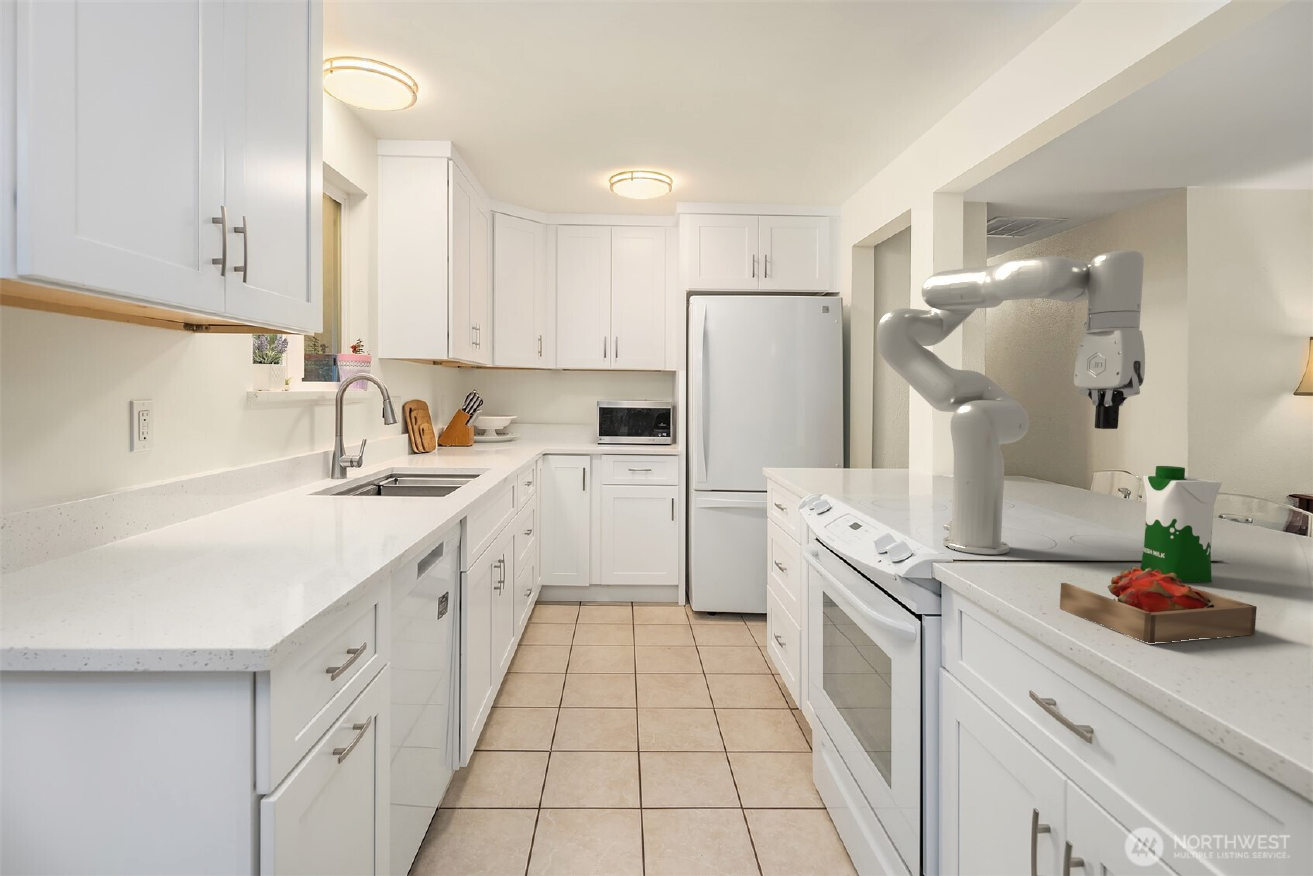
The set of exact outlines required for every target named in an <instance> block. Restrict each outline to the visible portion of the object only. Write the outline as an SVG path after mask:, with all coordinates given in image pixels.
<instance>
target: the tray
mask: <svg viewBox="0 0 1313 876" xmlns="http://www.w3.org/2000/svg"><path fill="white" fill-rule="evenodd" d="M1191 589H1192V590H1196V591H1199V592H1201V593H1203V594H1205V595H1206V596H1207V597H1208V598H1209V600H1211V602H1210V603H1208V604H1209V605H1208V606H1210V605H1212V604H1213V605H1214V608H1206V607H1205V608H1201V609H1189V610H1177V611H1165V612H1152V613H1149V612H1147V611H1144V610H1141V609H1138V608H1135V607H1132V606H1130V605H1127V604H1124V603H1121V602H1118V600H1117V599H1116V600H1113V599H1114V598H1113V599H1112V598H1109V597H1108V596H1104V595H1101V594H1099V593H1095V592H1093V591H1090V590H1087V589H1085V588H1081V587H1079V586H1076V585H1073V584H1070V583H1067V582H1061V583H1060V598H1059V610H1062V611H1065V612H1067V613H1070V614H1072V615H1074V614H1075V616H1077V617H1079V618H1082V619H1084V618H1086V619H1085V620H1087V619H1088V620H1087V621H1089V620H1090V621H1089V622H1091V621H1093V622H1092V623H1094V622H1096V623H1098V624H1097V625H1099V624H1102V625H1104V626H1106V627H1108V628H1107V629H1109V628H1112V629H1114V630H1115V631H1114V632H1116V631H1119V632H1122V633H1123V634H1125V635H1124V636H1126V635H1129V636H1131V637H1133V638H1137V639H1139V640H1142V641H1144V642H1148V643H1155V642H1172V641H1181V640H1189V639H1199V638H1217V637H1227V636H1231V637H1230V638H1233V637H1232V636H1240V637H1244V636H1243V635H1250V636H1255V635H1256V620H1257V608H1258V606H1257V605H1252V604H1250V603H1246V602H1243V601H1239V600H1236V599H1232V598H1228V597H1225V596H1223V595H1218V594H1215V593H1212V592H1209V591H1205V590H1201V589H1198V588H1195V587H1192V586H1191ZM1096 623H1095V624H1096ZM1104 626H1103V627H1104ZM1106 627H1105V628H1106ZM1123 634H1122V635H1123ZM1131 637H1130V638H1131ZM1133 638H1132V639H1133Z"/></svg>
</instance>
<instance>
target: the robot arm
mask: <svg viewBox="0 0 1313 876" xmlns="http://www.w3.org/2000/svg"><path fill="white" fill-rule="evenodd" d="M1144 260H1145V259H1144V256H1143V254H1142V253H1141V252H1139V251H1137V250H1116V251H1110V252H1105V253H1101V254H1099V255H1096V256H1095V257H1093V258H1092V260H1091V261H1090V260H1089V261H1087V260H1086V261H1085V260H1080V259H1075V258H1069V257H1067V256H1066V257H1065V256H1057V255H1049V256H1048V255H1047V256H1036V257H1027V258H1018V259H1011V260H1007V261H1003V262H1001V263H997V264H995V265H987V266H978V267H969V268H960V269H951V270H943V271H939V272H935V273H933V274H932V275H930V276H928V277H927V279H926V280H925V281H924V283H923V284H922V287H921V297H922V300H923V301H924V303H925V304H926V305H927V306H929V307H930V308H929V310H925V309H919V308H917V309H916V308H908V307H907V308H906V307H905V308H895V309H893V310H890V311H888V312H886V313H885V314H884V315H883V316H882V317H881V318H880V320H879V322H878V324H877V327H876V329H877V330H876V342H877V347H878V350H879V352H880V354H881V357H882V358H883V359H884V360H885V362H886V363H887V365H889V366H890V368H892V369H893V370H894V371H895V372H896V373H897V374H898V375H899V376H900V377H902V378H903V379H904V380H905V381H906V382H907V383H908V385H909V386H911V387H912V389H914V390H915V391H916V392H917V394H919V395H920V396H921V397H922V398H923V400H925V401H926V402H927V403H928V404H929V405H930V406H931V407H932V408H934V409H935V410H936V411H940V412H946V413H948V412H949V413H953V414H952V416H951V418H950V419H951V420H950V435H951V441H952V447H953V450H952V451H953V473H952V474H953V478H952V479H953V480H952V482H953V484H952V503H951V504H952V507H951V508H952V509H951V521H950V522H948V523H944V524H943V527H942V528H943V530H945V531H948V536H946V537H943V539H942V544H943V546H944V547H946V546H948V547H949V549H951V550H954V549H955V551H959V552H963V553H967V554H977V555H1002V554H1003V555H1004V554H1007V553H1009V552H1010V545H1009V544H1008V543H1006V542H1004V541H1002V532H1003V531H1002V528H1003V510H1004V508H1003V507H1004V506H1003V505H1004V487H1005V459H1004V456H1003V452H1002V449H1001V445H1005V444H1006V445H1007V444H1011V443H1015V442H1017V441H1019V440H1021V439H1022V438H1024V436H1026V434H1027V433H1028V430H1029V427H1030V418H1029V415H1028V413H1027V410H1026V409H1025V408H1024V407H1023V405H1021V404H1020V402H1018V400H1016V399H1015V398H1014V397H1013V396H1011V395H1010V393H1007V391H1005V389H1003V388H1002V387H1001V386H999V385H998V384H997V383H996V382H994V380H992V379H991V378H990V377H988V376H987V375H985V374H984V373H981V372H978V371H975V370H967V369H957V368H952V367H951V366H949V365H948V364H947V363H945V362H944V361H943V360H942V359H940V357H939V356H938V355H937V354H935V353H934V352H933V351H932V350H929V349H927V348H926V347H932V346H935V345H937V344H939V343H942V342H943V341H944V340H945V339H946V338H948V336H950V335H951V334H952V333H953V332H954V331H956V329H957V328H958V327H959V326H961V325H962V324H963V323H964V322H965V321H966V320H967V319H968V318H969V317H970V316H971V315H972V314H973V313H974V312H975V311H976V310H977V309H988V308H989V309H992V308H996V307H999V306H1001V304H1002V303H1003V302H1005V301H1012V300H1013V301H1014V300H1015V301H1016V300H1030V299H1031V300H1033V299H1034V300H1035V299H1046V300H1054V301H1058V302H1066V303H1079V302H1080V303H1081V302H1083V301H1084V302H1085V301H1087V308H1086V309H1087V311H1086V312H1087V313H1086V314H1087V315H1086V321H1085V322H1084V327H1083V328H1085V329H1086V330H1085V333H1083V334H1082V335H1081V338H1080V341H1079V343H1078V349H1077V353H1076V359H1075V365H1074V374H1073V385H1074V386H1075V387H1076V388H1078V389H1079V394H1080V395H1082V396H1085V397H1088V398H1089V399H1091V402H1092V403H1091V404H1092V406H1093V407H1095V412H1094V413H1095V415H1094V416H1095V417H1094V428H1095V429H1099V430H1100V429H1101V430H1117V429H1118V428H1119V417H1120V416H1119V415H1120V407H1123V405H1124V404H1125V401H1126V400H1127V399H1128V398H1130V397H1134V396H1138V395H1140V394H1141V389H1140V387H1141V386H1142V385H1143V383H1144V379H1145V375H1146V353H1145V352H1146V351H1145V350H1146V349H1145V341H1144V335H1143V330H1141V329H1140V325H1141V312H1142V311H1141V310H1142V309H1141V308H1142V298H1143V297H1142V295H1143V282H1144V281H1143V280H1144V267H1145V265H1144V263H1145V261H1144ZM948 547H947V548H948Z"/></svg>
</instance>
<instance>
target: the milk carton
mask: <svg viewBox="0 0 1313 876" xmlns="http://www.w3.org/2000/svg"><path fill="white" fill-rule="evenodd" d="M1142 480H1143V484H1144V490H1145V496H1146V509H1145V526H1144V542H1143V551H1142V556H1141V563H1140V569H1141V570H1142V571H1145V570H1146V569H1147V568H1151V569H1152V571H1153V570H1155V569H1159V570H1160V571H1161V572H1162V575H1167V574H1170V573H1175V574H1176V575H1177V576H1176V578H1179V579H1181V580H1182V583H1204V582H1211V583H1213V581H1212V576H1213V575H1212V558H1211V557H1212V556H1211V553H1212V552H1211V551H1212V538H1213V537H1212V536H1213V524H1214V523H1213V522H1214V510H1215V509H1214V508H1215V504H1216V503H1215V502H1216V500H1217V497H1218V495H1219V491H1220V489H1221V486H1222V483H1223V482H1222V481H1215V480H1210V479H1204V478H1196V477H1191V476H1186V468H1185V467H1183V466H1176V465H1175V466H1171V465H1157V466H1155V475H1143V476H1142Z"/></svg>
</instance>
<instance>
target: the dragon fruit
mask: <svg viewBox="0 0 1313 876" xmlns="http://www.w3.org/2000/svg"><path fill="white" fill-rule="evenodd" d="M1130 569H1131V570H1128V569H1127V570H1122V571H1121V572H1120V574H1119V575H1116V576H1115V577H1114V576H1113V577H1111V581H1110V582H1111V584H1109V585H1107V586H1106V587H1107V588H1108V591H1109V593H1111V595H1113V596H1114V597H1115V598H1117V599H1115V598H1113V600H1116V601H1118V602H1121V603H1124V604H1127V605H1130V606H1132V607H1135V608H1138V609H1141V610H1144V611H1147V612H1149V613H1152V612H1165V611H1177V610H1189V609H1201V608H1205V607H1206V608H1214V605H1213V604H1212V605H1210V606H1208V605H1209V604H1208V603H1210V602H1211V600H1209V598H1208V597H1207V596H1206V595H1205V594H1203V593H1201V592H1199V591H1196V590H1192V589H1191V587H1192V586H1191V585H1189V584H1186V583H1184V582H1182V580H1181V579H1179V578H1176V576H1177V575H1176V574H1175V573H1170V574H1167V575H1162V572H1161V571H1160V570H1159V569H1155V570H1153V571H1152V569H1151V568H1147V569H1146V570H1145V571H1142V570H1141V568H1140V567H1135V566H1131V567H1130Z"/></svg>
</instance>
